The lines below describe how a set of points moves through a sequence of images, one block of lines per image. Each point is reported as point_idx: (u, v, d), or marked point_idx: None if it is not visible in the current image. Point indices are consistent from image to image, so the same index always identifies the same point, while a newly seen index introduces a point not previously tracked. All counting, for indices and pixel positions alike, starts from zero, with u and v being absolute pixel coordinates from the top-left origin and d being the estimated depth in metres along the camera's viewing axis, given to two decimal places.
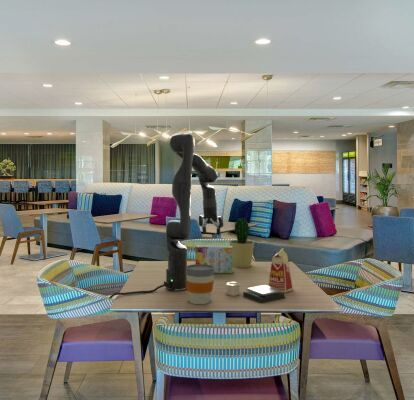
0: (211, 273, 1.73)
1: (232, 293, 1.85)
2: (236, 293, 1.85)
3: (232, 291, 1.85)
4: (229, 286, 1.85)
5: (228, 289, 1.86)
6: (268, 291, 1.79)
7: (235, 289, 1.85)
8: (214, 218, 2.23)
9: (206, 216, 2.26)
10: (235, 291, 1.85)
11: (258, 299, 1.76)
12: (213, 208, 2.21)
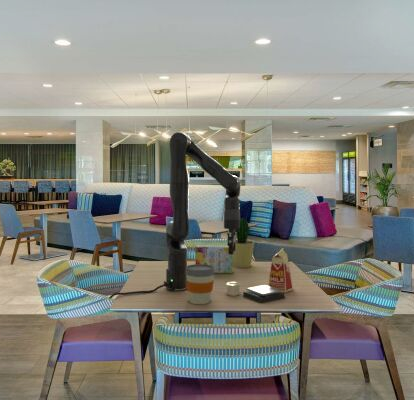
0: (211, 273, 1.73)
1: (232, 293, 1.85)
2: (236, 293, 1.85)
3: (232, 291, 1.85)
4: (229, 286, 1.85)
5: (228, 289, 1.86)
6: (268, 291, 1.79)
7: (235, 289, 1.85)
8: None
9: None
10: (235, 291, 1.85)
11: (258, 299, 1.76)
12: (227, 221, 1.87)
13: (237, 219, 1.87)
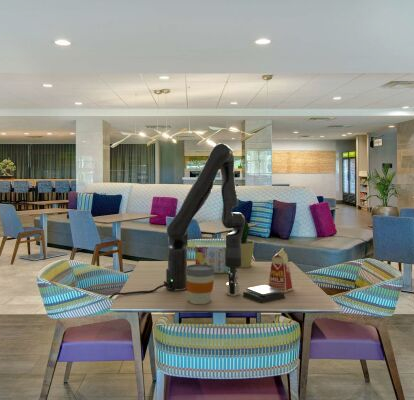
0: (211, 273, 1.73)
1: None
2: (236, 293, 1.85)
3: None
4: (229, 286, 1.85)
5: (228, 289, 1.86)
6: (268, 291, 1.79)
7: (235, 289, 1.85)
8: (230, 271, 1.85)
9: None
10: (235, 291, 1.85)
11: (258, 299, 1.76)
12: (228, 259, 1.84)
13: (238, 257, 1.84)
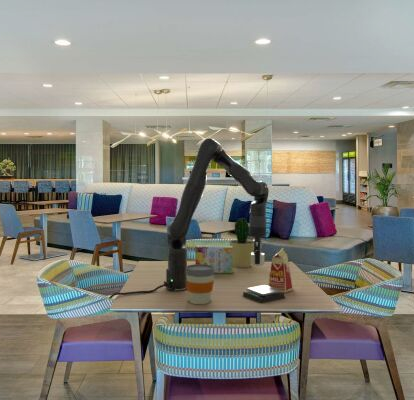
0: (211, 273, 1.73)
1: None
2: (261, 263, 1.81)
3: None
4: (254, 256, 1.81)
5: (253, 259, 1.82)
6: (268, 291, 1.79)
7: (260, 259, 1.81)
8: (254, 241, 1.81)
9: None
10: (260, 261, 1.81)
11: (258, 299, 1.76)
12: (253, 228, 1.80)
13: (264, 226, 1.80)
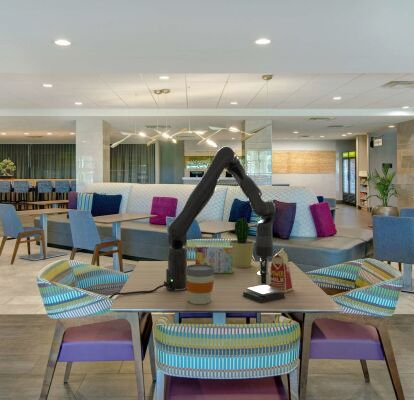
0: (211, 273, 1.73)
1: None
2: (268, 283, 1.81)
3: None
4: (260, 276, 1.81)
5: (259, 279, 1.81)
6: (268, 291, 1.79)
7: (267, 278, 1.80)
8: (261, 261, 1.80)
9: None
10: (267, 281, 1.80)
11: (258, 299, 1.76)
12: (259, 248, 1.80)
13: (270, 246, 1.79)
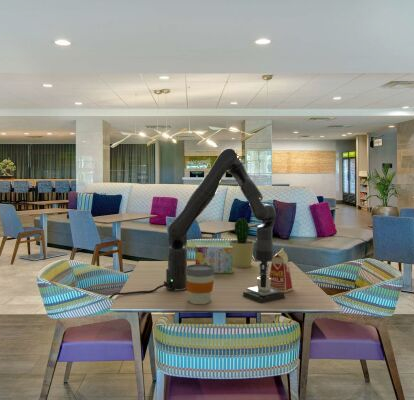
0: (211, 273, 1.73)
1: (263, 288, 1.80)
2: (267, 288, 1.81)
3: None
4: (260, 281, 1.81)
5: (259, 284, 1.81)
6: (268, 291, 1.79)
7: (266, 284, 1.80)
8: (261, 265, 1.80)
9: None
10: (266, 286, 1.80)
11: (258, 299, 1.76)
12: (259, 252, 1.80)
13: (270, 250, 1.79)
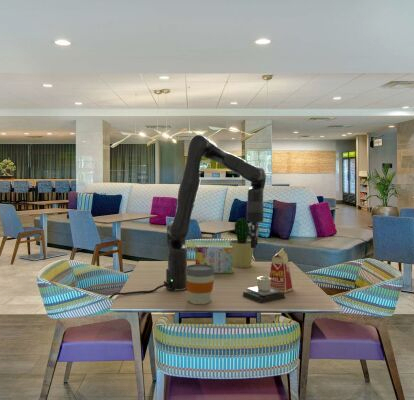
0: (211, 273, 1.73)
1: (263, 288, 1.80)
2: (267, 288, 1.81)
3: (263, 286, 1.80)
4: (260, 281, 1.81)
5: (259, 284, 1.81)
6: (268, 291, 1.79)
7: (266, 284, 1.80)
8: None
9: None
10: (266, 286, 1.80)
11: (258, 299, 1.76)
12: (250, 213, 1.81)
13: (260, 212, 1.81)
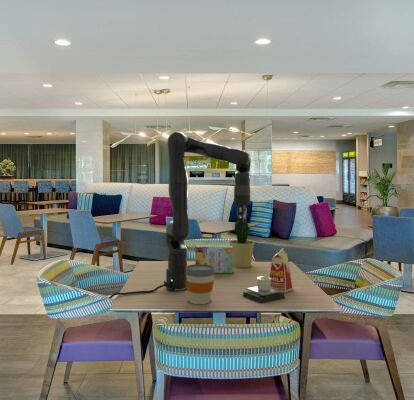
0: (211, 273, 1.73)
1: (263, 288, 1.80)
2: (267, 288, 1.81)
3: (263, 286, 1.80)
4: (260, 281, 1.81)
5: (259, 284, 1.81)
6: (268, 291, 1.79)
7: (266, 284, 1.80)
8: None
9: None
10: (266, 286, 1.80)
11: (258, 299, 1.76)
12: (237, 196, 1.86)
13: (247, 194, 1.85)
